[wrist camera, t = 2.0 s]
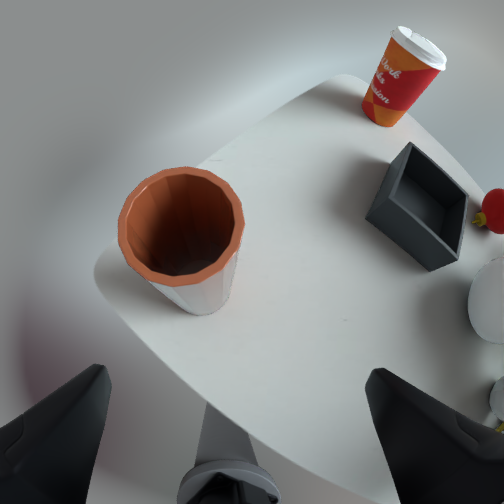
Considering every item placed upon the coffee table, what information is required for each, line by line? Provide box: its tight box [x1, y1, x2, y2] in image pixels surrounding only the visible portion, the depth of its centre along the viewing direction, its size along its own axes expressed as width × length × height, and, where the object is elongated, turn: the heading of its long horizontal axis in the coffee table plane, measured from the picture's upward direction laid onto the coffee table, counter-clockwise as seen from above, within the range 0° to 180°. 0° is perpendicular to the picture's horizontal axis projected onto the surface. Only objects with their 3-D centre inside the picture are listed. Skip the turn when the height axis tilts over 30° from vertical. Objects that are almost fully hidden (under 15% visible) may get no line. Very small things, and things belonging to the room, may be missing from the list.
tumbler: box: [118, 167, 245, 316], centre depth 17 cm, size 5×5×14 cm
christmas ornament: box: [472, 189, 504, 234], centre depth 29 cm, size 7×7×10 cm
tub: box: [365, 142, 469, 272], centre depth 27 cm, size 10×10×5 cm
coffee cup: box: [362, 26, 446, 127], centre depth 27 cm, size 8×8×15 cm
